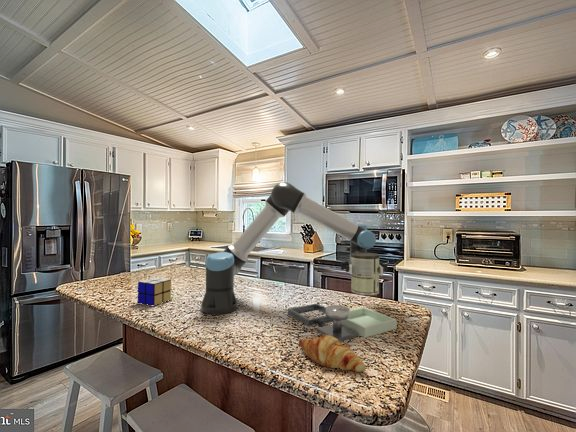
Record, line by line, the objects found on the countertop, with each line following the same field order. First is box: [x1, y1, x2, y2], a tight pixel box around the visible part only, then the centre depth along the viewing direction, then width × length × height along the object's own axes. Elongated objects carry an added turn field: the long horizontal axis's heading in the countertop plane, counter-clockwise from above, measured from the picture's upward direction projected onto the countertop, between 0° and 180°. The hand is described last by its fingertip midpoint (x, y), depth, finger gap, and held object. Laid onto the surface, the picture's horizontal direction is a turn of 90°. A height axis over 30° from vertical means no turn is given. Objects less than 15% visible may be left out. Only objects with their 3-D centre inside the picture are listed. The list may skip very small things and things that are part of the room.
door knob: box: [316, 304, 359, 342], centre depth 101 cm, size 10×15×9 cm, turn 31°
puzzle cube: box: [137, 277, 172, 306], centre depth 131 cm, size 10×10×10 cm
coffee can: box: [350, 251, 381, 296], centre depth 107 cm, size 10×10×14 cm
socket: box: [287, 303, 333, 327], centre depth 115 cm, size 15×15×2 cm
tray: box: [342, 306, 398, 339], centre depth 106 cm, size 16×16×3 cm
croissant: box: [298, 334, 366, 373], centre depth 80 cm, size 21×10×8 cm, turn 52°
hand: (366, 270), depth 102 cm, fingers closed on coffee can, 10 cm apart
